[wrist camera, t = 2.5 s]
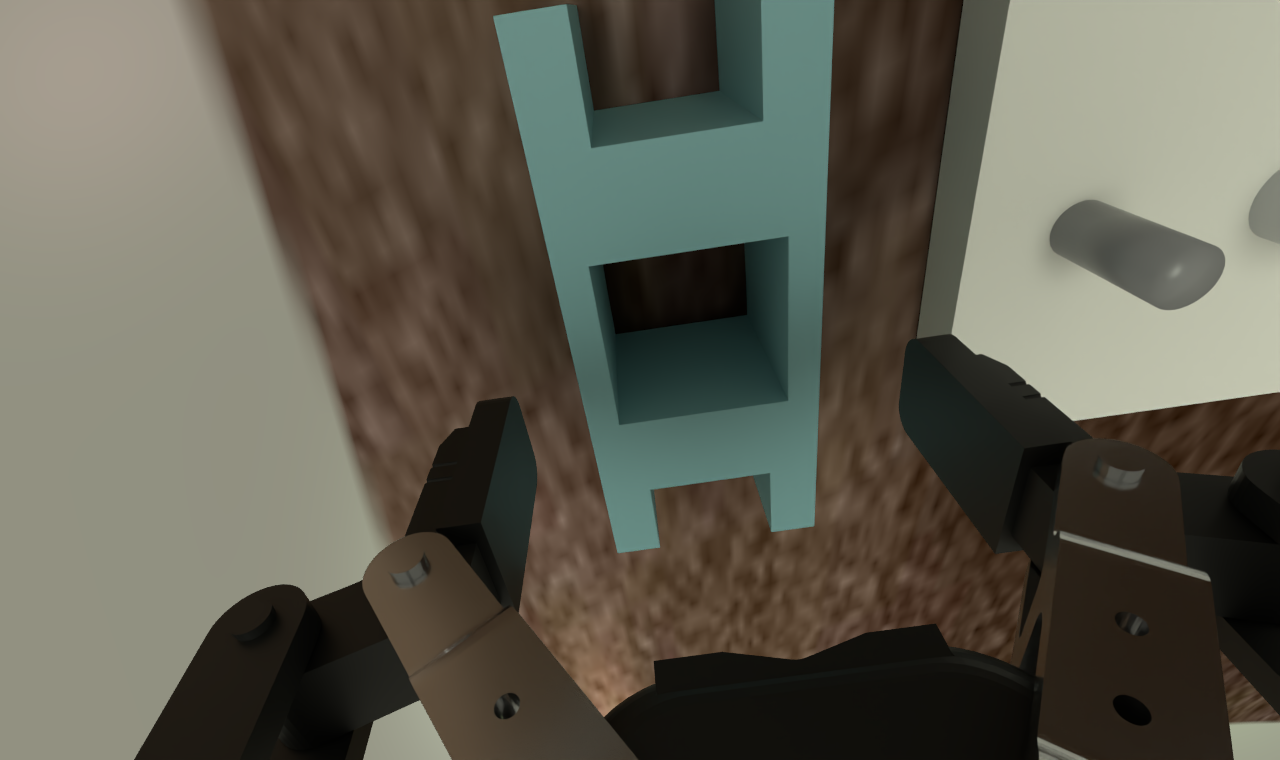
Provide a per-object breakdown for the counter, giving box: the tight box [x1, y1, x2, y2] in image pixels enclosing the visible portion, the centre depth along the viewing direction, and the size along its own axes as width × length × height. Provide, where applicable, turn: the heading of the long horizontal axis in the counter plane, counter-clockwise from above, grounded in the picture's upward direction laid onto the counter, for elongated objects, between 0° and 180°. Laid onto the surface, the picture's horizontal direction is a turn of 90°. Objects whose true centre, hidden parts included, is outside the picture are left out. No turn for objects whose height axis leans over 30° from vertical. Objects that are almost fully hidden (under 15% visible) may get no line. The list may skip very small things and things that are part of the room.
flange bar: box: [493, 0, 834, 553], centre depth 16 cm, size 14×6×5 cm, turn 8°
